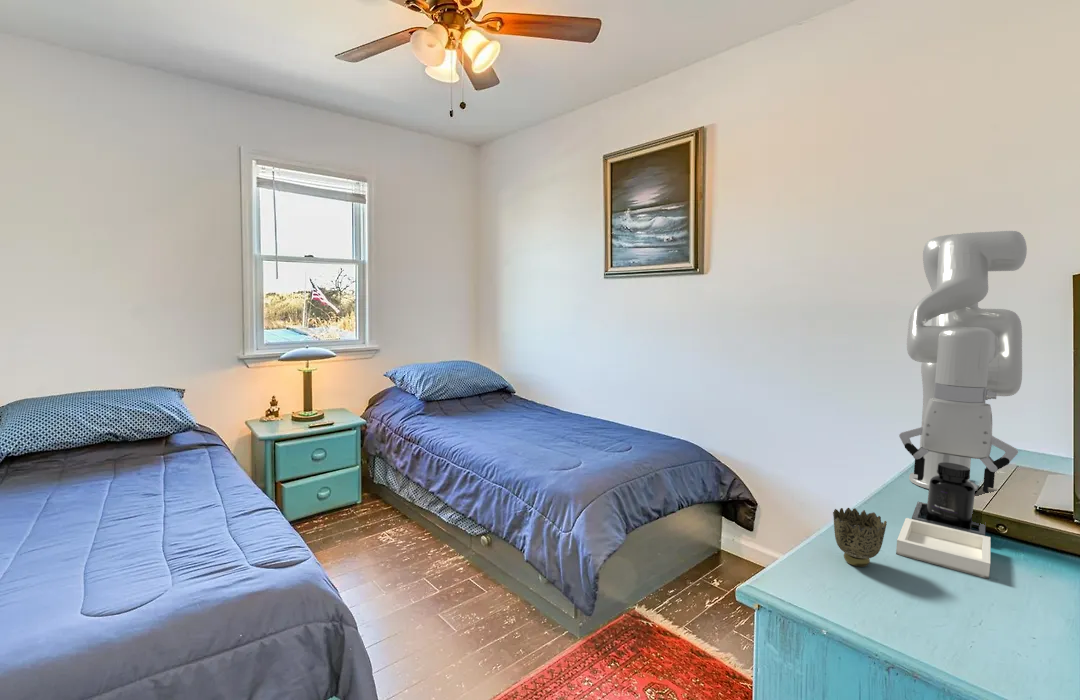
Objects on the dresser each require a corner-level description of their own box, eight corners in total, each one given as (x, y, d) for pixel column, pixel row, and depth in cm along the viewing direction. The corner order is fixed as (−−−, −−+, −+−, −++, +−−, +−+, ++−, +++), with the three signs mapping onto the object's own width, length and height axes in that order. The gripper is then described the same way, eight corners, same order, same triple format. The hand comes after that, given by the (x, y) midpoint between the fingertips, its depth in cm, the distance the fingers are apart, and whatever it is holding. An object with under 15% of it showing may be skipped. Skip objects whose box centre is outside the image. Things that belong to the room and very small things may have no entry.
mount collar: (917, 510, 107) (917, 501, 106) (984, 525, 100) (985, 515, 100) (910, 527, 99) (911, 517, 99) (984, 545, 92) (985, 534, 92)
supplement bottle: (933, 531, 97) (938, 469, 96) (920, 517, 104) (924, 458, 102) (978, 537, 95) (984, 473, 94) (961, 522, 101) (967, 462, 100)
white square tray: (904, 530, 98) (905, 517, 97) (989, 551, 90) (990, 537, 89) (896, 553, 88) (897, 539, 88) (988, 579, 81) (990, 563, 80)
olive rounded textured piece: (891, 577, 81) (895, 528, 80) (840, 572, 83) (843, 523, 82) (871, 554, 88) (874, 509, 88) (824, 550, 90) (827, 505, 89)
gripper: (1021, 398, 94) (1013, 491, 95) (905, 387, 105) (899, 470, 106) (1023, 403, 88) (1014, 501, 89) (900, 391, 99) (894, 478, 101)
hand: (951, 484), depth 98 cm, fingers open, 9 cm apart
